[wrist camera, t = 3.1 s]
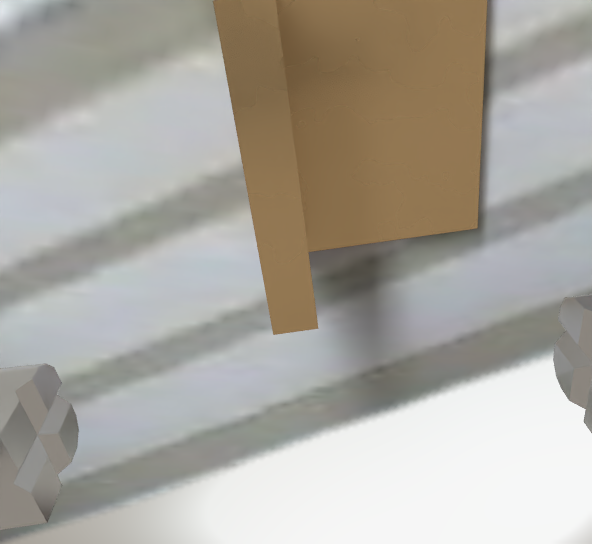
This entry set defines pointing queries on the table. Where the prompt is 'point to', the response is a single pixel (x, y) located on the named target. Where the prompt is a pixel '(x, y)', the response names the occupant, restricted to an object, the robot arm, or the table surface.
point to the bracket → (352, 127)
